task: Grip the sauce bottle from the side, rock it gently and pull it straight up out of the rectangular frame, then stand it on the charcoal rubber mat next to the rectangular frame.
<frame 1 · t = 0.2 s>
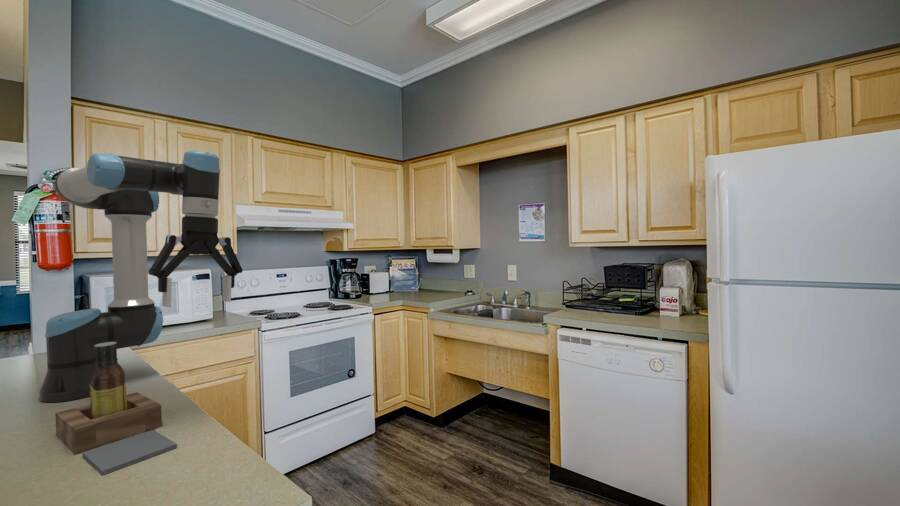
hand: (198, 303, 100), 27 cm above the counter, tool pointing down, fingers open, 13 cm apart
sauce bottle: (110, 431, 92), resting in rectangular frame
mat: (130, 452, 82), on the counter
rectangular frame: (110, 430, 92), on the counter
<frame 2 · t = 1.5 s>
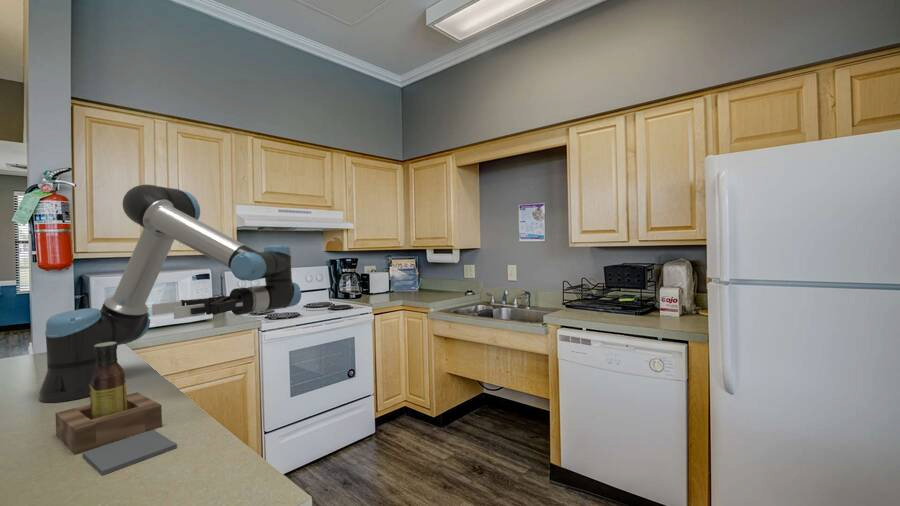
hand: (162, 311, 101), 25 cm above the counter, tool horizontal, fingers open, 13 cm apart
nothing on the counter moved.
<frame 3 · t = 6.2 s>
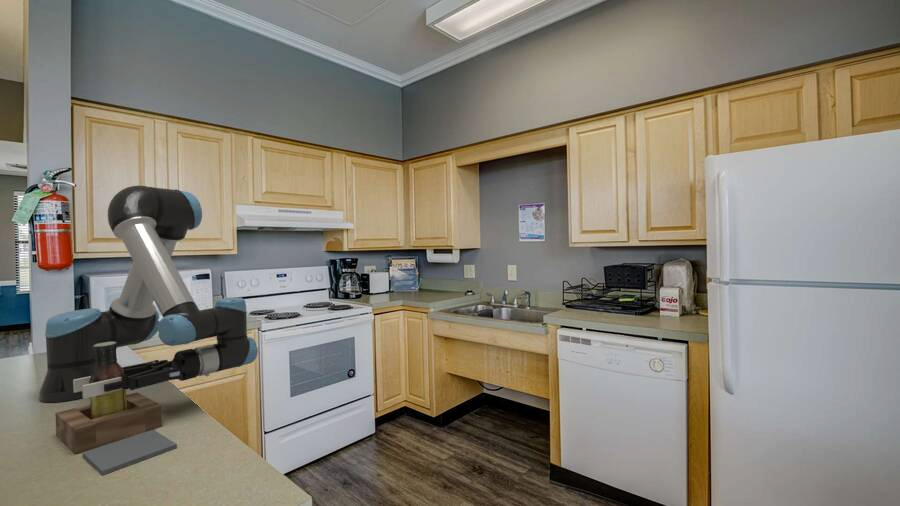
hand: (78, 389, 88), 11 cm above the counter, tool horizontal, fingers closed on sauce bottle, 6 cm apart
sauce bottle: (110, 431, 92), resting in rectangular frame, touching gripper
when the fingers open (13 cm above the counter, at t = 12.5 s): sauce bottle drops 1 cm, resting on mat.
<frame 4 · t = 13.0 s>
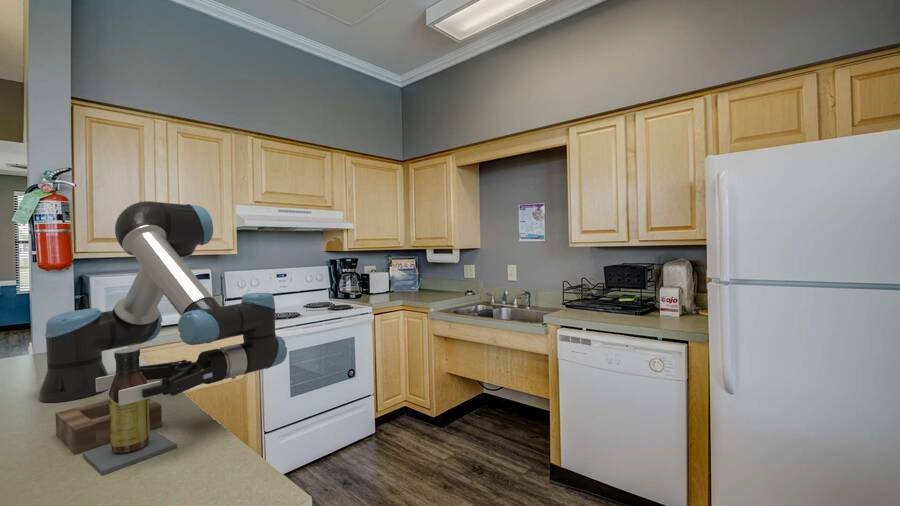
hand: (106, 391, 79), 13 cm above the counter, tool horizontal, fingers open, 13 cm apart
sauce bottle: (130, 448, 82), point 1 cm above the counter, touching mat
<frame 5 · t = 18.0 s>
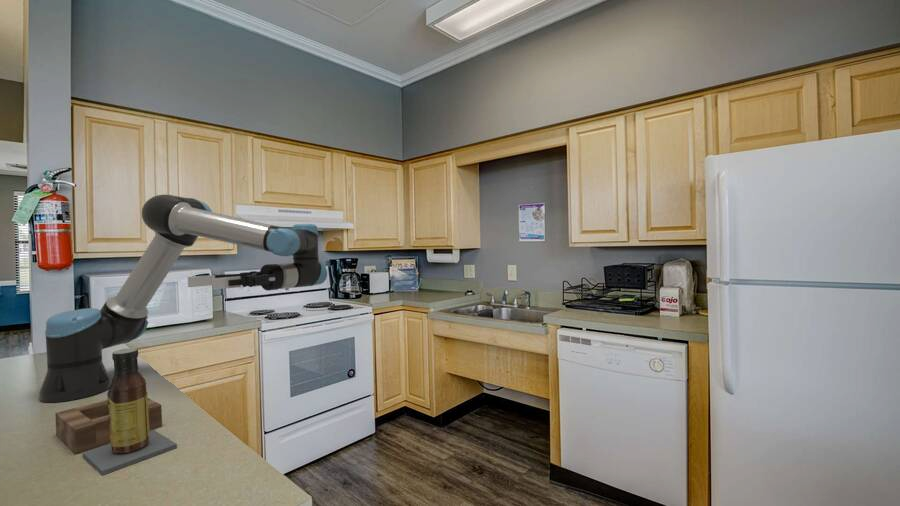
hand: (200, 283, 103), 32 cm above the counter, tool horizontal, fingers open, 13 cm apart
nothing on the counter moved.
at the end: sauce bottle inside the target area on the mat (0.1 cm from its centre), point 0.6 cm above the mat's base; sauce bottle tilted 0°; the gripper is holding nothing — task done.
